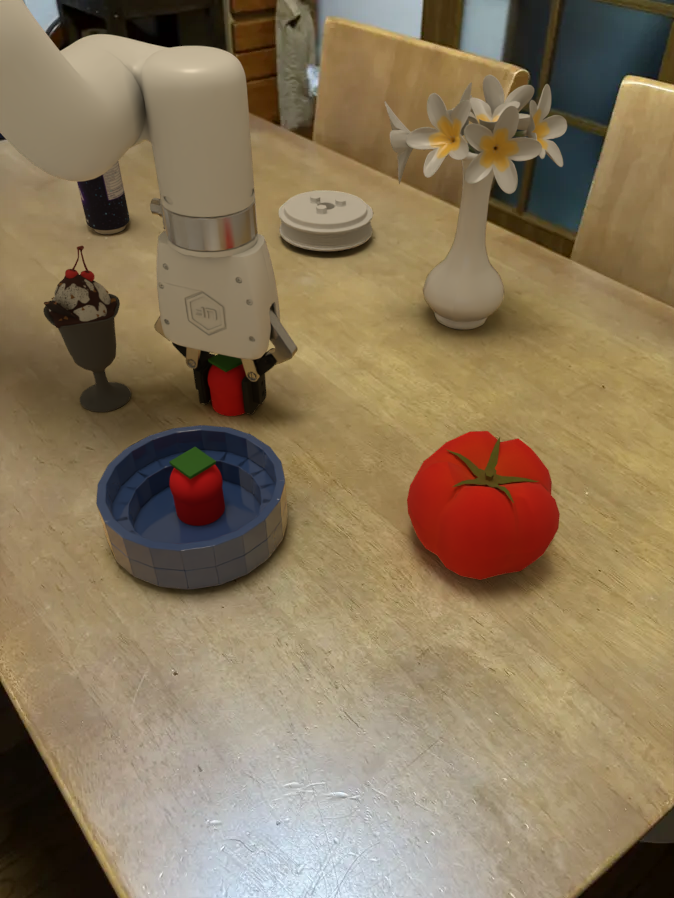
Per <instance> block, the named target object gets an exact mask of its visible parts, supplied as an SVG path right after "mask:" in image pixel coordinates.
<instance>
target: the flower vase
mask: <svg viewBox="0 0 674 898" xmlns="http://www.w3.org/2000/svg"><path fill="white" fill-rule="evenodd" d="M482 80H483V81H482V92H483V96H484V100H483V99H481V98H478V97H474V96H473V95H472V87H473V82H469V83H468V85H467V86H466V88H465V89H464V90H463V93H462V95H461V97H460V100H459V102H458V103H457V104H456V106H455V107H452V108H451V109H448V108H447V106H446V104H445V102H444V100H443V99H442V97H441V96H440V95H439V94H438V93H436V92H432V93H431V94H429V96H428V98H427V101H426V112H427V117H428V120H429V122H430V124H431V125H432V127H430V126H423V127H422V126H421V127H418V128H415V129H413V130H412V131H410V129H409V128H408V127H407V126H406V125H405V124H404V123H403V122H402V120H401V119H399V117H398V116H397V115H396V114H395V112H394V111H393V110H392V108H391V107H390V106H389V104H388V102H387V101H384V105H385V108H386V109H385V110H386V112H387V115H388V118H389V125H390V129H391V130H390V132H389V141H390V146H391V148H392V150H393V152H394V153H396V154H397V177H398V178H397V179H398V185H400V184H401V182H402V178H403V175H404V171H405V169H406V166H407V163H408V161H409V158H410V156H411V154H412V152H413V150H420V151H422V150H423V151H426V150H431V151H429V153H428V154H427V155H426V157H425V160H424V162H423V176H424V177H425V178H428V179H429V178H432V177H433V176H434V175H435V174H436V173H437V172H438V171H439V169H440V167H441V166H442V164H443V162H444V161H445V159H446V158H447V157H448V156H449V157H450V158H451V159H453V160H456V161H460V163H461V177H462V178H461V194H460V195H461V196H460V203H459V210H458V217H457V224H456V229H455V234H454V239H453V241H452V244H451V246H450V249H449V250H448V252H447V254H446V256H445V257H444V258H443V260H441V261H439V262H438V263H437V264H436V265H435V266H434V267H433V268H432V269H431V270H430V271H429V272H428V274H427V275H426V277H425V280H424V284H423V287H422V294H423V299H424V300H425V302H426V304H427V306H428V307H429V308H430V309H431V310H432V311H433V314H434V318H435V319H436V321H437V322H438V323H440V324H441V325H443V326H445V327H447V328H450V329H454V330H460V331H461V330H462V331H465V330H466V331H467V330H474V329H476V328H477V329H478V328H479V327H481V326H482V325H484V324H485V322H486V321H487V320H488V318H489V317H490V316H492V315H493V314H495V312H497V311H498V309H499V308H500V307H501V305H502V304H503V302H504V298H505V285H504V282H503V279H502V277H501V275H500V273H499V272H498V270H497V269H496V268H495V267H494V265H493V264H492V263H491V261H490V259H489V255H488V251H487V239H486V238H487V224H488V223H487V222H488V212H489V205H490V204H489V203H490V196H491V190H492V186H493V182H494V179H495V181H496V183H497V186H499V188H500V189H501V190H502V191H503V192H504V193H505V194H508V195H511V194H514V193H515V192H516V190H517V188H518V182H519V179H518V177H519V176H518V171H517V168H516V165H515V163H514V162H513V161H515V162H526V161H530V160H533V159H535V158H537V157H539V158H540V159H541V160H543V159H545V157H546V155H547V156H548V157H549V158H550V160H551V161H552V162H553V163H555V164H556V166H558V167H559V168H563V166H564V159H563V155H562V152H561V149H560V148H559V146H558V145H557V144H556V142H554V141H553V139H558V138H560V137H562V136H563V135H565V133H566V132H567V129H568V121H567V119H566V118H565V117H564V116H562V115H560V114H553V115H551V116H548V115H549V113H550V110H551V107H552V91H551V87H550V84H548V83H546V84H545V85H544V86H543V89H542V91H541V94H540V97H539V100H538V103H536V101H535V100H534V99H533V96H534V94H535V88H534V86H533V85H532V84H523V85H520V86H518V87H516V88H515V89H514V90H513V91H511V92H510V93H509V94H508V95H507V96H506V99H505V92H504V88H503V86H502V84H501V82H500V80H499V79H498V78H497V77H496V76H494V75H492V74H487V75H485V76H484V78H483V79H482ZM528 104H529V105H528ZM527 105H528V106H529V113H520V112H521V110H522V109H524V108H525V107H526V106H527ZM547 116H548V117H547ZM470 122H471V123H470Z"/></svg>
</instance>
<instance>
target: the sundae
mask: <svg viewBox="0 0 674 898" xmlns="http://www.w3.org/2000/svg"><path fill="white" fill-rule="evenodd" d="M84 249H85V246H84V245H78V246H76V250H77V259H76V261H75V263H74V265H73V267H72V268H68V269H66V270H65V271H64V277H63V278H62V279H61V280H60V281H59V282H58V284H57V285H56V287H55V289H54V296H53V297H51V299H50V300H48V301H43V304H44V307H43V315H44V317H45V318H46V320H47V321H48V322H49V323H50V324H51V325H53V326H54V327H55V328H56V329H57V330H58V332H59V334H60V337H61V338H62V340H63V342H64V345H65V346H66V350H67V351H68V353H69V355H70V357H71V359H72V360H73V362H74V364H75V365H77V366H78V367H79V368H81V369H83V370H86V371H90V372H91V373H92V374H93V378H94V384H93V385H91V386H89V387H87V388H86V389H84V390H83V391H82V393H81V394H80V396H79V404H80V405H81V407H83V408H84V409H86V410H87V411H91V412H95V413H106V412H111V411H115V410H117V409H120V408H121V407H123V406H125V405H126V404H127V403H128V402H129V401H130V399H131V397H132V392H131V389H130V387H128V386H127V385H125V384H124V383H121V382H117V381H109V380H108V377H107V374H106V373H107V372H106V369H107V368H109V366H111V364H112V363H113V362H114V360H115V359H116V356H117V336H116V327H115V326H116V325H115V318H116V317H117V314H118V313H119V310H120V306H121V302H120V298H119V297H118V296H117V295H115V294H112V293H109V290H107V289H106V287H105V286H103V285H102V284H101V283H99V282H98V281H96V280H95V277H96V276H95V273H94V272H92V271H91V270H89V269H88V267H87V264H86V261H85V259H84V255H83V251H84ZM80 256H81V260H82V263H83V266H84V270H82V271H81V272H80V273H79V271H78V270H76V267H77V265H78V263H79V259H80Z"/></svg>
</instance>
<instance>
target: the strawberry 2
mask: <svg viewBox="0 0 674 898" xmlns="http://www.w3.org/2000/svg"><path fill="white" fill-rule="evenodd" d="M208 362H210V363H211V364H213V365H212V366H211V368H210V370H209V372H208V385H209V387H210V393H211V400H210V401H211V407H212V409H213V410H214V412H215V413H217V414H219V415H221V416H225V417H237V416H241V415H244V414H246V412H245V411H244V403H243V393H242V384H241V383H242V380H243V378H244V377H245V376H246V374H245V370H244V367H243V364H242V361H241V358H236V357H231V356H226V355H221V354H215V356H213V357H211V358H209V359H208Z"/></svg>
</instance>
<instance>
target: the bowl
mask: <svg viewBox="0 0 674 898" xmlns="http://www.w3.org/2000/svg"><path fill="white" fill-rule="evenodd" d="M194 447H196V448H198V449H199V450H201V451H202V452H204V453H205V454H207V455H208V456H209V457H211V458H212V459H214V460H215V461H216V464H215V465H216V466H217V468H218V469H219V471H220V473H221V475H222V481H223V485H222V489H223V496H224V503H225V510H224V512H223V514H222V516H221V517H220V518H219V519H217V520H216V521H214V522H212V523H210V524H207V525H202V526H193V525H189V524H186V523H184V522H182V521H181V520H180V519H179V518H178V516H177V513H176V508H175V503H174V498H173V494H172V492H171V489H170V476H171V473H172V471H173V469H174V467H173V466H171V465H170V463H169V461H171V460H173V459H175V458H176V457H178V456H180V455H181V454H183V453H185V452H187V451H188V450H190V449H192V448H194ZM287 499H288V498H287V485H286V476H285V472H284V468H283V463H282V461H281V459H280V458H279V457H278V455H277V454H276V453H275V451H274V450H273V449H272V447H271V446H270V445H268V444H266V443H265V442H264V441H262V440H261V439H259V438H257V437H256V436H254V435H252V433H248V432H245V431H241V430H239V429H237V428H233V427H228V426H220V425H219V426H218V425H205V424H202V425H201V424H198V425H191V426H179V427H173V428H170V429H166V430H163V431H160V432H157V433H153V434H150V435H148V436H146V437H143V438H142V439H141V440H138V441H136V442H135V443H133V444H131V445H129V446H127V447H126V448H124V449H123V450H122V451H121V452H120V453H119V454H118V455H117V456H116V457H115V458H114V459H112V461H111V462H109V464H108V465H107V466H106V468H105V470H104V471H103V473H102V475H101V477H100V479H99V480H98V483H97V487H96V501H95V505H96V508H97V512H98V515H99V518H100V521H101V524H102V528H103V531H104V535H105V538H106V541H107V543H108V546H109V548H110V550H111V553H112V555H113V558H114V559H115V562H116V563H117V564H118V565H119V566H120V567H122V568H123V569H124V570H125V571H126V572H127V573H129V574H130V575H131V576H132V577H133V578H135V579H138V580H140V581H143V582H145V583H148V584H151V585H154V586H156V587H159V588H166V589H167V588H168V589H177V590H186V591H188V590H196V589H197V590H198V589H203V588H211V587H216V586H221V585H224V584H226V583H229V582H232V581H234V580H237V579H239V578H242V577H244V576H246V575H249V574H250V573H251V572H253V571H254V570H255V569H257V568H258V567H260V566H261V565H262V564H263V563H265V562H266V561H268V560H269V559H270V558H271V556H272V555H273V554H274V552H275V551H276V549H277V548H278V547H279V545H280V544H281V543H282V541H283V539H284V537H285V533H286V529H287V524H288V520H289V517H288V514H289V513H288V501H287Z"/></svg>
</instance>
